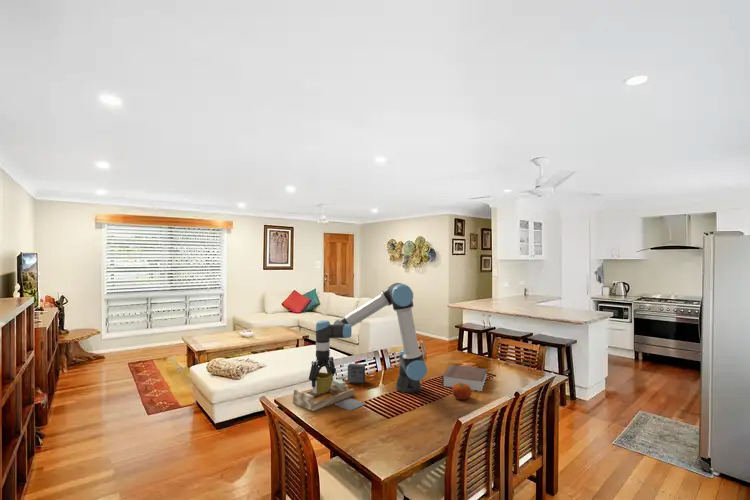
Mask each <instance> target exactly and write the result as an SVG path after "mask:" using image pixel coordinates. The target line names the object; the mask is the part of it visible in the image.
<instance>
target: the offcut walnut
mask: <svg viewBox="0 0 750 500" xmlns="http://www.w3.org/2000/svg"><path fill="white" fill-rule="evenodd" d="M348 390H349V389H348ZM348 390H347V391H348ZM328 393H330V394H332V393H333V394H332V395H337V394H339V393H342V391H338V390H333V389H329V391H328Z"/></svg>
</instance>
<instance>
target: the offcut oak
mask: <svg viewBox="0 0 750 500" xmlns="http://www.w3.org/2000/svg"><path fill="white" fill-rule="evenodd" d="M330 389H333V390H338V391H342V392H345V391H347V390H349V385H348V384H345V386H343V387H338V386H336V385H334V384H333V382H332V388H330Z"/></svg>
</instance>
